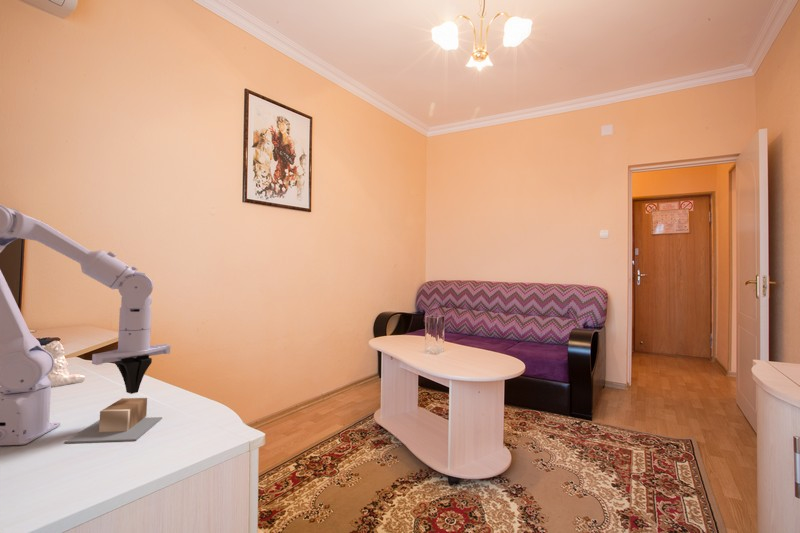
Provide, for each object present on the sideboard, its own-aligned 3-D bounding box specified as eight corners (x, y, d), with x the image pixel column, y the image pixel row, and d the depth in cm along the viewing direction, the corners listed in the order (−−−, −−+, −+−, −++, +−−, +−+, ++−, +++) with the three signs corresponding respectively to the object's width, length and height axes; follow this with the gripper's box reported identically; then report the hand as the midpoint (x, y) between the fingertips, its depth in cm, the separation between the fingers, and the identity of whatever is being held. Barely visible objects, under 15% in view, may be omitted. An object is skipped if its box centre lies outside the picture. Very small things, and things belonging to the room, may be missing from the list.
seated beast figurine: (86, 381, 110) (88, 339, 111) (54, 390, 102) (57, 344, 102) (59, 378, 112) (61, 337, 112) (25, 387, 104) (27, 341, 104)
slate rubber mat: (136, 440, 74) (136, 439, 74) (64, 443, 72) (64, 441, 72) (162, 418, 85) (162, 417, 85) (100, 420, 83) (100, 418, 83)
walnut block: (146, 416, 85) (127, 431, 77) (121, 417, 84) (99, 431, 77) (147, 397, 85) (128, 410, 77) (121, 398, 85) (100, 411, 77)
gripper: (159, 323, 92) (156, 381, 92) (86, 330, 80) (83, 397, 80) (176, 326, 89) (174, 386, 89) (103, 334, 76) (99, 404, 76)
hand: (132, 392), depth 84 cm, fingers closed
